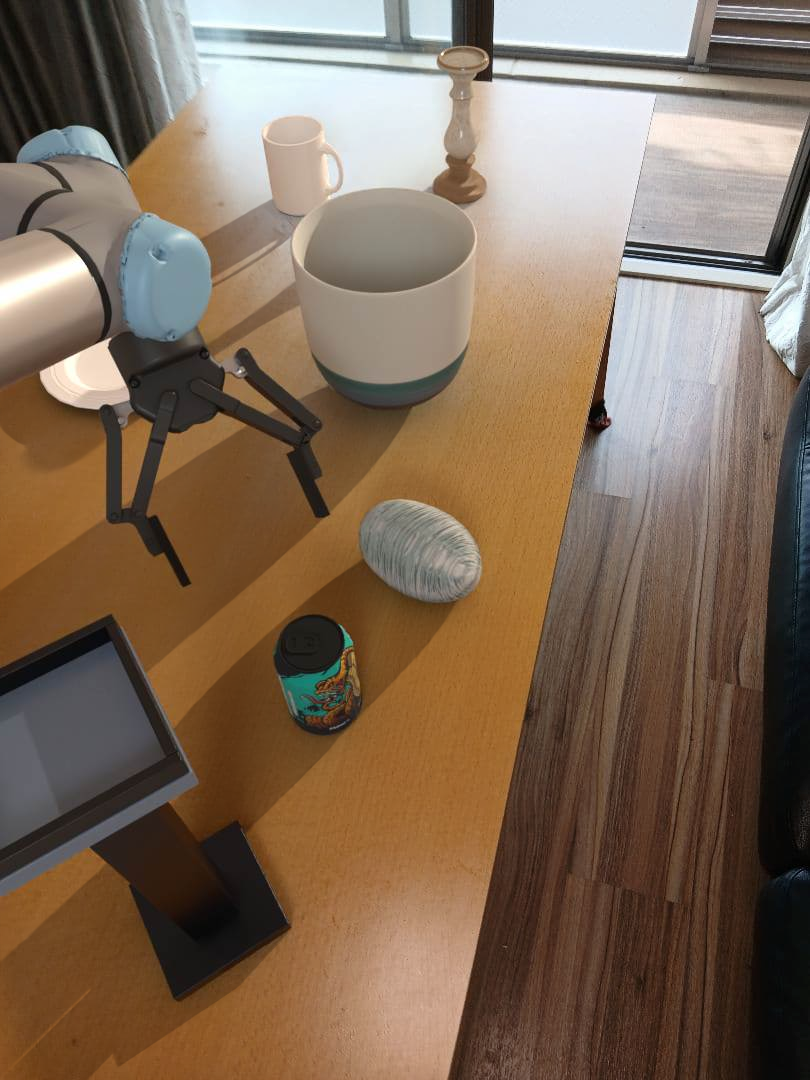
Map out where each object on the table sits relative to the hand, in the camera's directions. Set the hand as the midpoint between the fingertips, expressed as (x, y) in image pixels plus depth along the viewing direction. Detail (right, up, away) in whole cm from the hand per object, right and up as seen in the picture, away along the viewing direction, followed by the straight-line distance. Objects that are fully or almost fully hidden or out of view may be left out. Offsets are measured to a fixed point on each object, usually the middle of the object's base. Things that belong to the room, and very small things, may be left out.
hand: (256, 549), depth 73 cm
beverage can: (+6, -15, +6) cm, 17 cm away
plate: (-25, +24, +37) cm, 51 cm away
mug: (-2, +56, +60) cm, 82 cm away
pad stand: (-3, -30, -5) cm, 30 cm away
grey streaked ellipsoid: (+15, -3, +15) cm, 22 cm away
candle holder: (+22, +58, +61) cm, 88 cm away
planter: (+12, +21, +33) cm, 41 cm away
